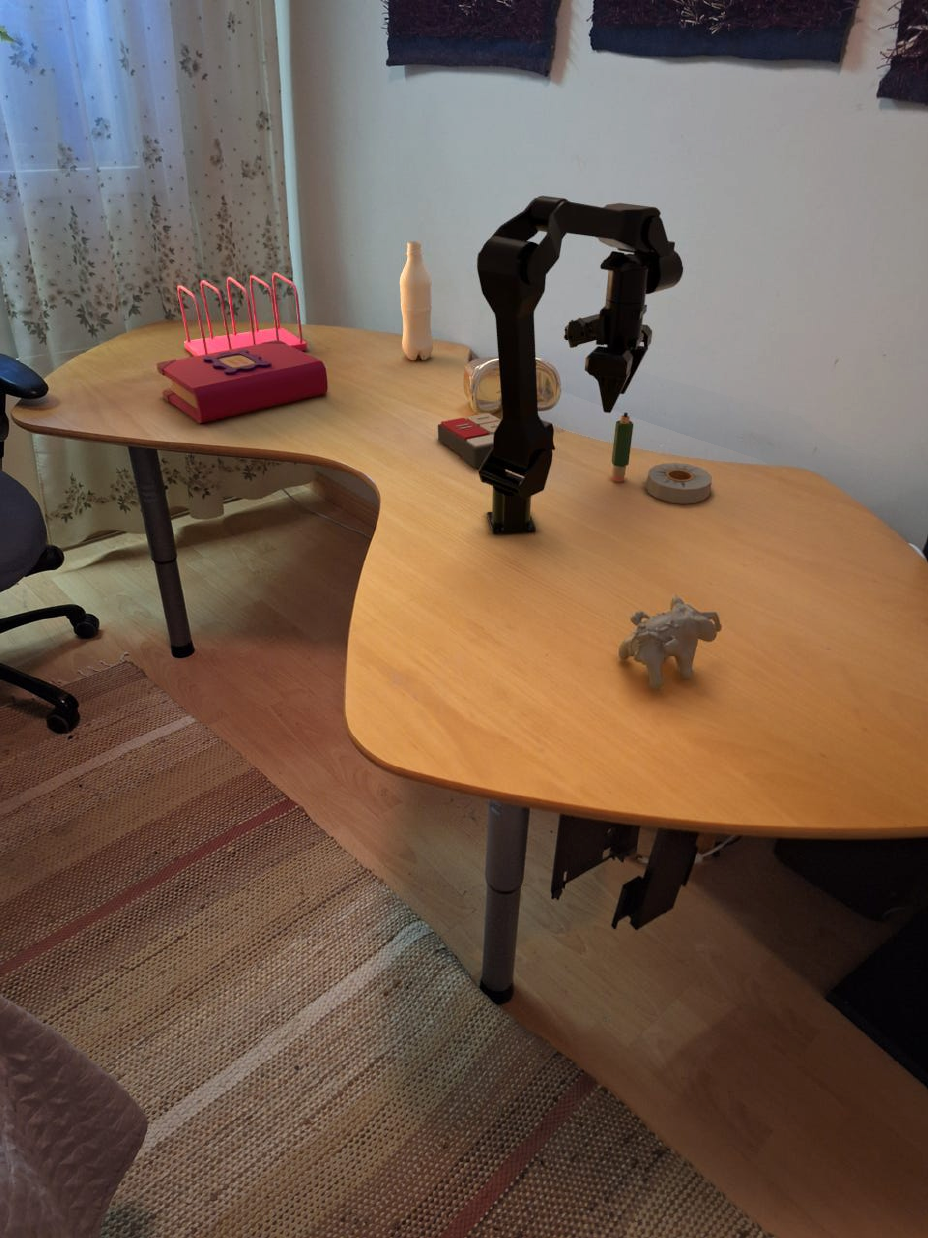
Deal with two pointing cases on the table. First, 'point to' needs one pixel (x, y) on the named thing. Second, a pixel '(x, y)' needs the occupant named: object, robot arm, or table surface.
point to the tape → (679, 483)
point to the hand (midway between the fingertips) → (614, 402)
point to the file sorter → (235, 339)
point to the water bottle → (416, 305)
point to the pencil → (621, 447)
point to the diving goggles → (487, 390)
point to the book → (242, 380)
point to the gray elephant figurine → (669, 639)
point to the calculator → (470, 436)
